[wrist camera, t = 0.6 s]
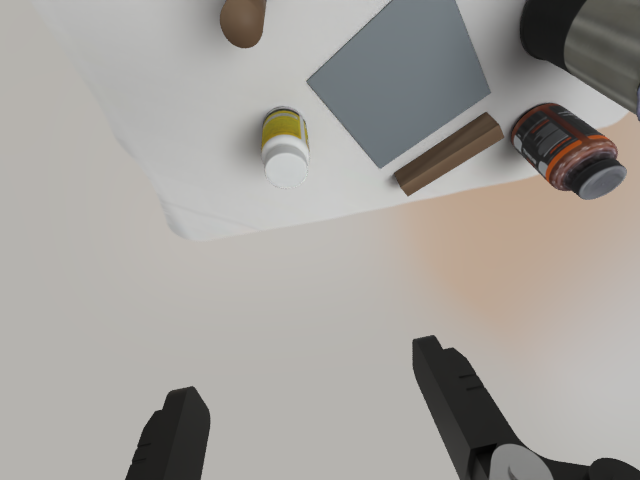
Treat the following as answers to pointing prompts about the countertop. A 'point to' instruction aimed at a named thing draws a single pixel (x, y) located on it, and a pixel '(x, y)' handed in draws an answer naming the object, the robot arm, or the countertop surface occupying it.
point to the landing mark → (402, 77)
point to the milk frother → (589, 43)
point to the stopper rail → (449, 153)
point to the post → (243, 21)
